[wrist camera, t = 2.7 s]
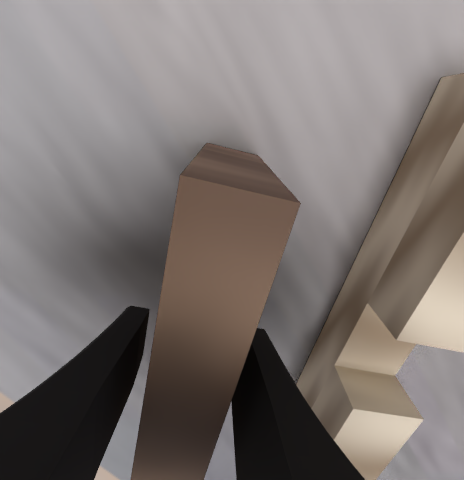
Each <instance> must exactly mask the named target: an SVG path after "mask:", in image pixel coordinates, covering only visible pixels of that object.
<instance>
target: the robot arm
mask: <svg viewBox="0 0 464 480" xmlns="http://www.w3.org/2000/svg"><path fill="white" fill-rule="evenodd" d="M149 310H150V309H146V308H141V307H135V306H130V307H128V308H126V310H125V311H124V312H123V313H122V314H121V315H120V316H119V317H118V318H117V319H116V320H115V321H114V322H113V323H112V324H111V325H110V326H109V327H108V328H107V329H106V330H104V331H103V332H102V333H101V334H100V335H99V336H98V337H97V338H96V339H95V340H94V341H92V342H91V343H90V344H89V345H88V346H87V347H86V348H85V349H83V350H82V351H81V352H80V353H79V354H78V355H76V356H75V357H74V358H73V359H72V360H70V361H69V362H68V363H67V364H65V365H64V366H63V367H62V368H60V369H59V370H58V371H57V372H55V373H54V374H53V375H52V376H51V377H49V378H48V379H47V380H45V381H44V382H43V383H41V384H40V385H39V386H37V387H36V388H35V389H33V390H32V391H31V392H29V393H28V394H27V395H25V396H24V397H22V398H21V399H20V400H18V401H17V402H15V403H14V404H13V405H11V406H10V407H8V408H7V409H6V410H4V411H3V412H1V413H0V480H94V478H95V476H96V473H97V470H98V468H99V465H100V463H101V461H102V458H103V456H104V454H105V451H106V449H107V447H108V444H109V442H110V439H111V437H112V435H113V432H114V430H115V428H116V425H117V423H118V421H119V418H120V416H121V414H122V411H123V409H124V407H125V404H126V402H127V399H128V397H129V395H130V392H131V390H132V387H133V385H134V382H135V379H136V375H137V372H138V369H139V366H140V363H141V359H142V356H143V351H144V344H145V337H146V330H147V323H148V317H149ZM232 416H233V432H234V447H235V462H236V477H237V480H365V479H364V477H363V476H362V475H361V474H360V473H359V471H358V470H357V469H356V468H355V467H354V465H353V464H352V463H351V462H350V460H349V459H348V458H347V457H346V455H345V454H344V453H343V451H342V450H341V449H340V447H339V446H338V445H337V444H336V442H335V441H334V440H333V438H332V437H331V436H330V434H329V433H328V432H327V430H326V429H325V428H324V426H323V425H322V423H321V422H320V421H319V419H318V418H317V416H316V415H315V413H314V412H313V410H312V409H311V407H310V406H309V404H308V403H307V401H306V400H305V398H304V397H303V395H302V393H301V392H300V390H299V389H298V387H297V385H296V384H295V382H294V380H293V379H292V377H291V376H290V374H289V372H288V371H287V369H286V367H285V365H284V364H283V362H282V360H281V358H280V357H279V355H278V353H277V351H276V349H275V348H274V346H273V344H272V342H271V340H270V338H269V337H268V335H267V333H266V331H265V330H264V329H259V328H257V329H256V332H255V335H254V337H253V340H252V343H251V346H250V349H249V352H248V355H247V357H246V360H245V363H244V366H243V369H242V372H241V375H240V377H239V380H238V383H237V386H236V389H235V392H234V394H233V397H232Z"/></svg>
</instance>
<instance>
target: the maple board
mask: <svg viewBox="0 0 464 480" xmlns="http://www.w3.org/2000/svg"><path fill="white" fill-rule="evenodd" d="M416 344H420V345H426V346H431V347H437V348H442V349H448V350H453V351H458V352H464V73H462V74H457V75H452V76H447V77H442V78H441V80H440V82H439V84H438V86H437V88H436V90H435V92H434V95H433V97H432V99H431V101H430V103H429V105H428V107H427V109H426V111H425V114H424V116H423V118H422V120H421V122H420V124H419V126H418V128H417V130H416V133H415V135H414V137H413V139H412V141H411V143H410V145H409V147H408V149H407V152H406V154H405V156H404V158H403V160H402V162H401V164H400V166H399V168H398V171H397V173H396V175H395V177H394V179H393V181H392V183H391V185H390V187H389V190H388V192H387V194H386V196H385V198H384V200H383V202H382V204H381V206H380V209H379V211H378V213H377V215H376V217H375V219H374V221H373V223H372V225H371V228H370V230H369V232H368V234H367V236H366V238H365V240H364V242H363V244H362V247H361V249H360V251H359V253H358V255H357V257H356V259H355V261H354V263H353V266H352V268H351V270H350V272H349V274H348V276H347V278H346V280H345V282H344V285H343V287H342V289H341V291H340V293H339V295H338V297H337V299H336V301H335V304H334V306H333V308H332V310H331V312H330V314H329V316H328V318H327V320H326V323H325V325H324V327H323V329H322V331H321V333H320V335H319V337H318V339H317V342H316V344H315V346H314V348H313V350H312V352H311V354H310V356H309V358H308V361H307V363H306V365H305V367H304V369H303V371H302V373H301V375H300V377H299V380H298V382H297V384H296V385H297V387H298V389H299V390H300V392H301V393H302V395H303V397H304V398H305V400H306V401H307V403H308V404H309V406H310V407H311V409H312V410H313V412H314V413H315V415H316V416H317V418H318V419H319V421H320V422H321V423H322V425H323V426H324V428H325V429H326V430H327V432H328V433H329V434H330V436H331V437H332V438H333V440H334V441H335V442H336V444H337V445H338V446H339V447H340V449H341V450H342V451H343V453H344V454H345V455H346V457H347V458H348V459H349V460H350V462H351V463H352V464H353V465H354V467H355V468H356V469H357V470H358V471H359V473H360V474H361V475H362V476H363V477H364V479H365V480H376V479H377V477H378V476H379V475H380V474H381V472H382V471H383V470H384V469H385V467H386V466H387V465H388V464H389V462H390V461H391V460H392V459H393V457H394V456H395V455H396V454H397V452H398V451H399V450H400V449H401V447H402V446H403V445H404V444H405V442H406V441H407V440H408V439H409V437H410V436H411V435H412V434H413V432H414V431H415V430H416V429H417V427H418V426H419V425H420V424H421V422H422V421H423V420H424V419H423V418H422V416H421V415H420V413H419V411H418V410H417V408H416V407H415V405H414V404H413V402H412V401H411V399H410V398H409V396H408V395H407V393H406V392H405V390H404V389H403V387H402V386H401V384H400V383H399V381H398V380H397V378H396V377H395V375H396V373H397V372H398V370H399V369H400V367H401V366H402V364H403V363H404V361H405V360H406V358H407V357H408V355H409V354H410V352H411V351H412V349H413V348H414V346H415V345H416Z"/></svg>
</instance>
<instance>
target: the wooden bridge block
mask: <svg viewBox="0 0 464 480" xmlns="http://www.w3.org/2000/svg"><path fill="white" fill-rule="evenodd" d="M300 204H301V203H300V202H299V201H298V200H297V199H296V197H295V196H294V195H293V194H292V193H291V192H290V191H289V190H288V188H287V187H286V186H285V185H284V184H283V183H282V182H281V181H280V179H279V178H278V177H277V176H276V175H275V174H274V173H273V172H272V170H271V169H270V168H269V167H268V166H267V165H266V164H265V163H264V161H263V160H262V159H261V158H260V157H259V156H258V155H254V154H250V153H246V152H242V151H238V150H234V149H230V148H226V147H222V146H218V145H214V144H210V143H206V145H205V146H204V147H203V148H202V149H201V151H200V152H199V153H198V154H197V155H196V157H195V158H194V159H193V160H192V161H191V162H190V164H189V165H188V166H187V167H186V168H185V170H184V171H183V172H182V173H181V174H180V178H179V185H178V191H177V197H176V203H175V209H174V215H173V222H172V228H171V234H170V240H169V246H168V252H167V259H166V265H165V271H164V277H163V283H162V289H161V296H160V302H159V308H158V314H157V320H156V326H155V333H154V339H153V345H152V351H151V357H150V363H149V370H148V376H147V382H146V388H145V394H144V400H143V407H142V413H141V419H140V425H139V431H138V437H137V444H136V450H135V456H134V462H133V468H132V474H131V480H204V477H205V474H206V471H207V469H208V466H209V463H210V460H211V457H212V454H213V451H214V449H215V446H216V443H217V440H218V437H219V434H220V431H221V429H222V426H223V423H224V420H225V417H226V414H227V412H228V409H229V406H230V403H231V400H232V397H233V394H234V392H235V389H236V386H237V383H238V380H239V377H240V375H241V372H242V369H243V366H244V363H245V360H246V357H247V355H248V352H249V349H250V346H251V343H252V340H253V337H254V335H255V332H256V329H257V326H258V323H259V320H260V318H261V315H262V312H263V309H264V306H265V303H266V300H267V298H268V295H269V292H270V289H271V286H272V283H273V280H274V278H275V275H276V272H277V269H278V266H279V263H280V261H281V258H282V255H283V252H284V249H285V246H286V243H287V241H288V238H289V235H290V232H291V229H292V226H293V223H294V221H295V218H296V215H297V212H298V209H299V206H300Z"/></svg>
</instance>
